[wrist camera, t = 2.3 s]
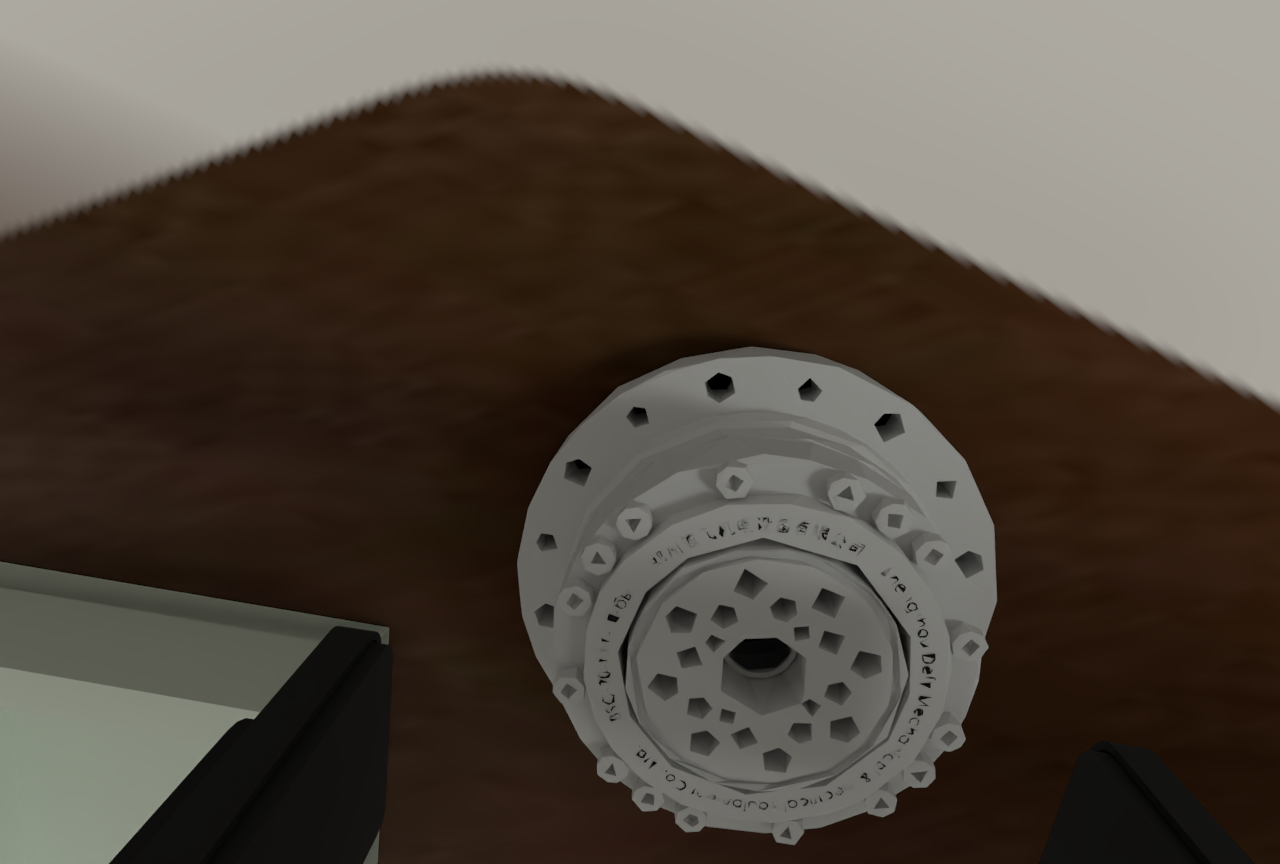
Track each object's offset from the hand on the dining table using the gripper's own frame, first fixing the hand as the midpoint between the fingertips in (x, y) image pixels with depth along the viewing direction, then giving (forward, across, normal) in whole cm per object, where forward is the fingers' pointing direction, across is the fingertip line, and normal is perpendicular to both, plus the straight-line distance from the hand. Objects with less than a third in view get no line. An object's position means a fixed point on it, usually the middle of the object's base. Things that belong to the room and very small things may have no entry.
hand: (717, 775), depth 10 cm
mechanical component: (+7, -1, 0) cm, 7 cm away
